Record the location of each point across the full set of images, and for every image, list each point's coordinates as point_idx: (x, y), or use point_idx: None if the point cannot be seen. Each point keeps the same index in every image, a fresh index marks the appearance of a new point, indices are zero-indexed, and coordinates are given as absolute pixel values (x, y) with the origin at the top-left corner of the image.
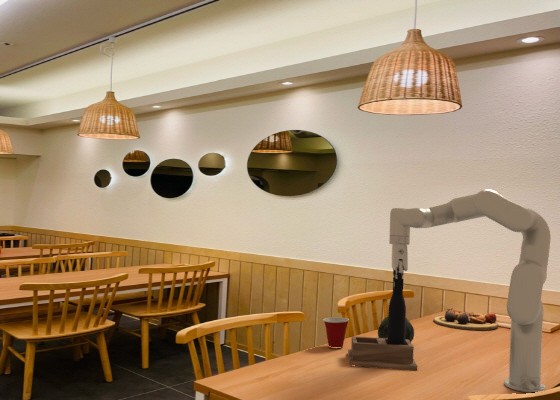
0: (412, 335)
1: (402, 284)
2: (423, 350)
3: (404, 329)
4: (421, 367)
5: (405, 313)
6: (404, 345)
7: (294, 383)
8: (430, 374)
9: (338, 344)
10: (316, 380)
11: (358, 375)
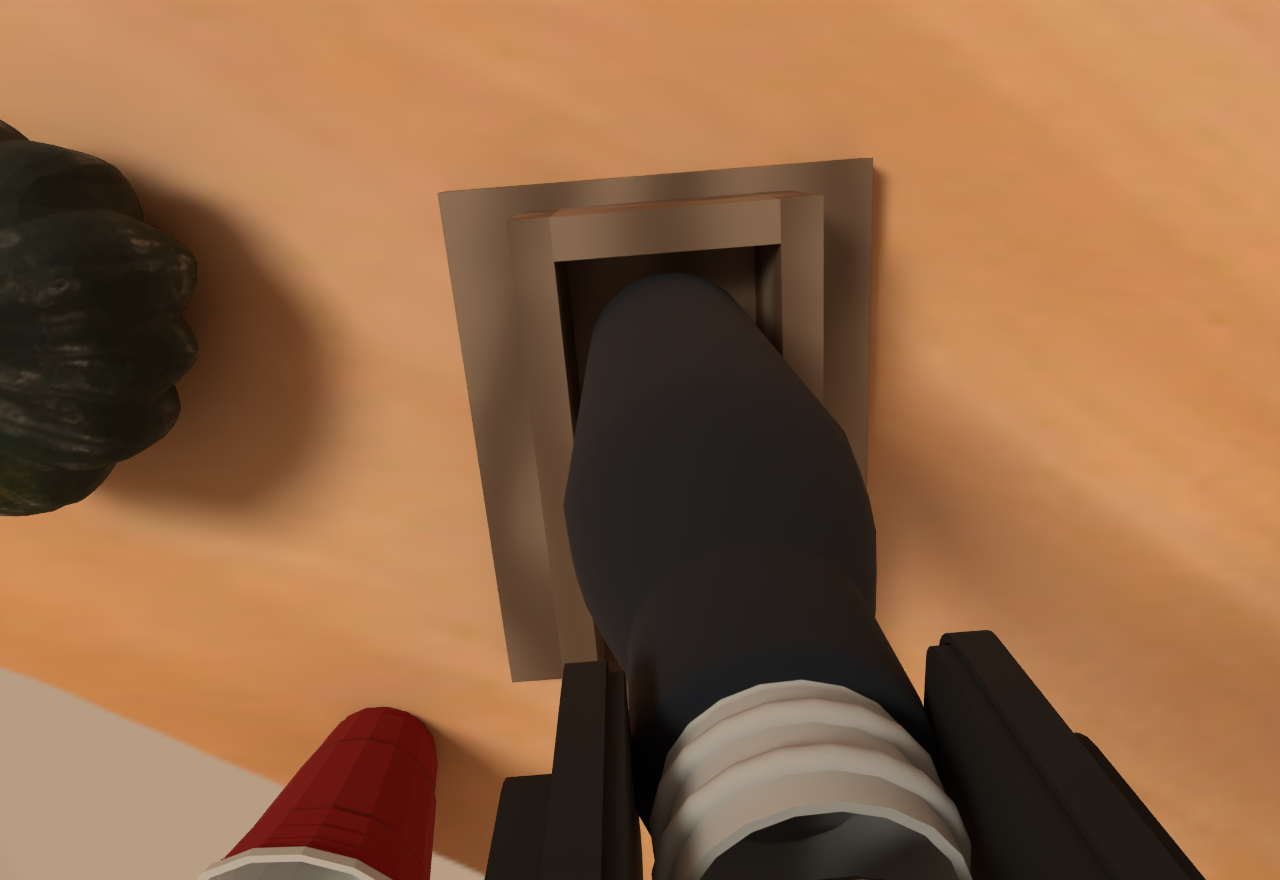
0: (6, 128)
1: (1062, 755)
2: (126, 14)
3: (738, 314)
4: (762, 110)
5: (753, 352)
6: (796, 289)
7: (1228, 876)
8: (956, 51)
9: (426, 755)
10: (1171, 790)
11: (1051, 583)
